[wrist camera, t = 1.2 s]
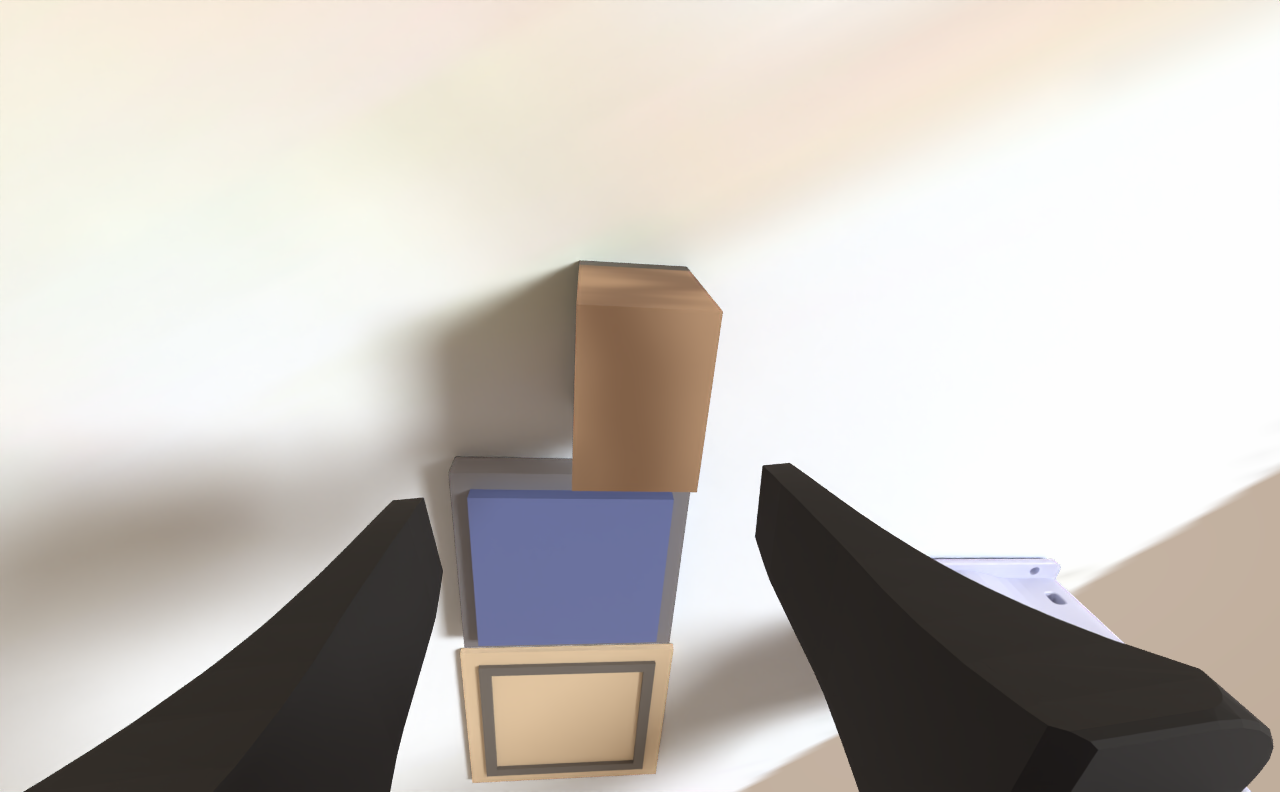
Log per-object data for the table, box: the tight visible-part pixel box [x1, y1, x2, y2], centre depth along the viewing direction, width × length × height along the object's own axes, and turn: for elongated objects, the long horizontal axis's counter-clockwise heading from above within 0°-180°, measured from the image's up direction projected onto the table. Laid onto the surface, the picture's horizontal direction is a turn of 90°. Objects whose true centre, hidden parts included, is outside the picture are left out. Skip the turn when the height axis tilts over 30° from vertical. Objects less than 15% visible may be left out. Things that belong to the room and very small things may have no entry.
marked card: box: [460, 644, 673, 783], centre depth 30 cm, size 11×11×1 cm
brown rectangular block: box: [572, 260, 723, 492], centre depth 18 cm, size 4×6×6 cm, turn 176°
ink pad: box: [449, 457, 690, 648], centre depth 24 cm, size 10×10×2 cm
